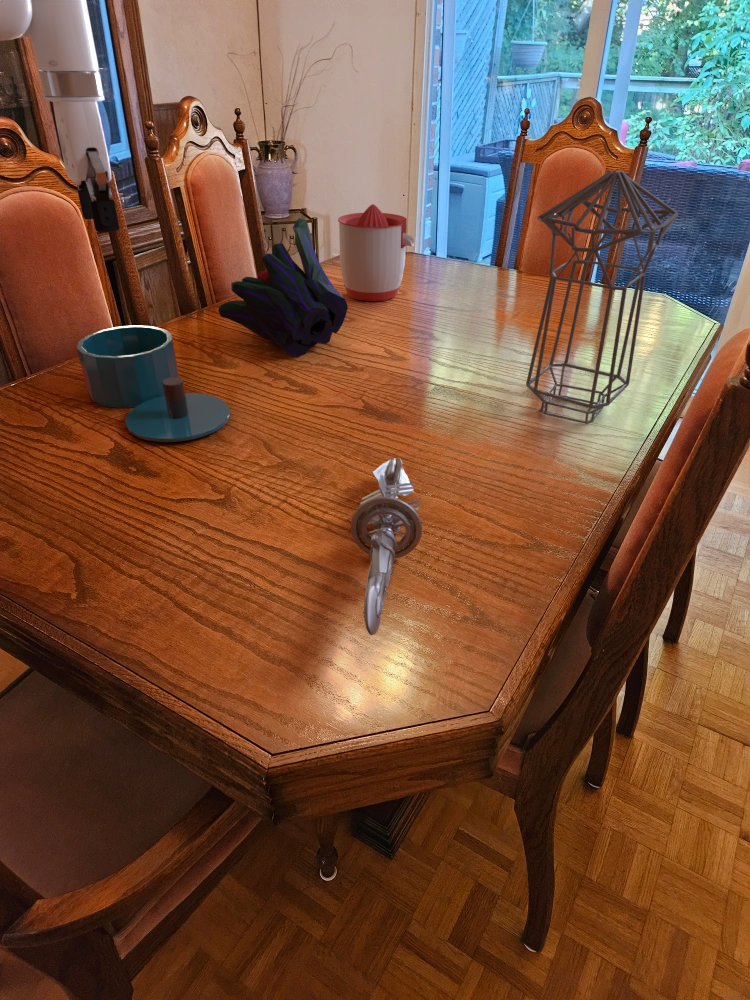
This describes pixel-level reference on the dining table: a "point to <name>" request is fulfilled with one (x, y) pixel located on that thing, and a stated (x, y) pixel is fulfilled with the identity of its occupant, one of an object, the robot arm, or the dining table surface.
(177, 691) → the dining table surface
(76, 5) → the robot arm
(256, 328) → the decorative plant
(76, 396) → the dining table surface
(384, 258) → the citrus juicer
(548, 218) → the geometric lantern
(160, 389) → the pot
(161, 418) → the pot lid
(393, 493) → the spaceship
